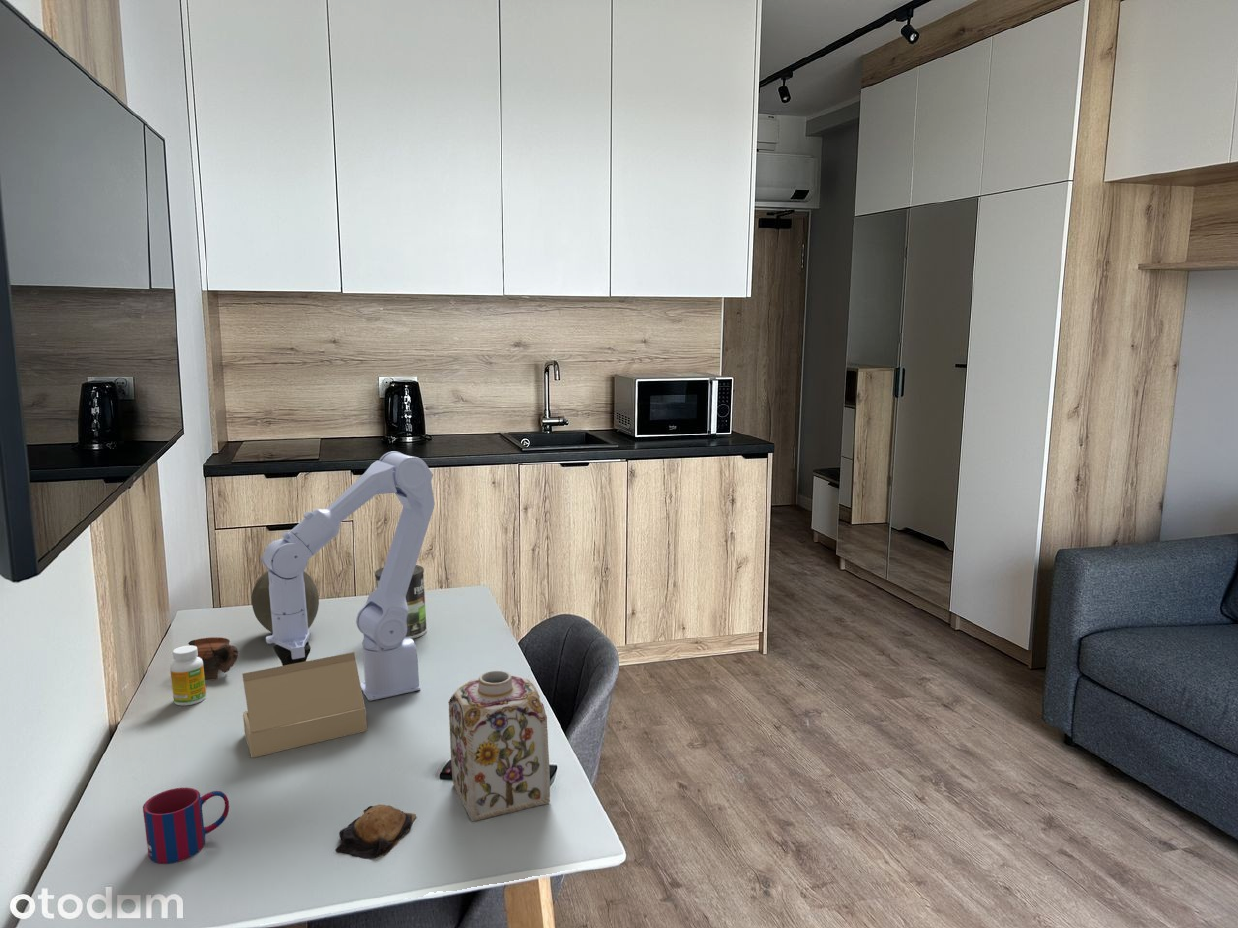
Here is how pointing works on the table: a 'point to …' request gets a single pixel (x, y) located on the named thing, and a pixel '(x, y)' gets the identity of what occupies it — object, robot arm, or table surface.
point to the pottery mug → (215, 655)
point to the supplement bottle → (187, 676)
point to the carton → (304, 732)
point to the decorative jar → (499, 745)
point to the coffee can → (413, 603)
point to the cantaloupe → (263, 600)
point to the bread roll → (375, 832)
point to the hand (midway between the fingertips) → (295, 684)
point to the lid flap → (302, 691)
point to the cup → (177, 824)
